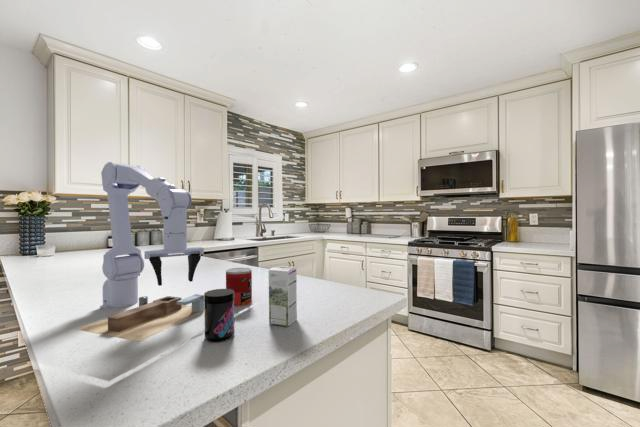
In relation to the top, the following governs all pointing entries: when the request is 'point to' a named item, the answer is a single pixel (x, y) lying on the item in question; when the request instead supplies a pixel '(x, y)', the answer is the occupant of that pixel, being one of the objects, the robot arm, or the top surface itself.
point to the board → (144, 325)
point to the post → (143, 301)
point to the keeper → (194, 302)
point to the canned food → (240, 285)
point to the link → (143, 313)
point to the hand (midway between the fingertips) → (175, 282)
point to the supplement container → (219, 314)
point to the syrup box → (282, 295)
